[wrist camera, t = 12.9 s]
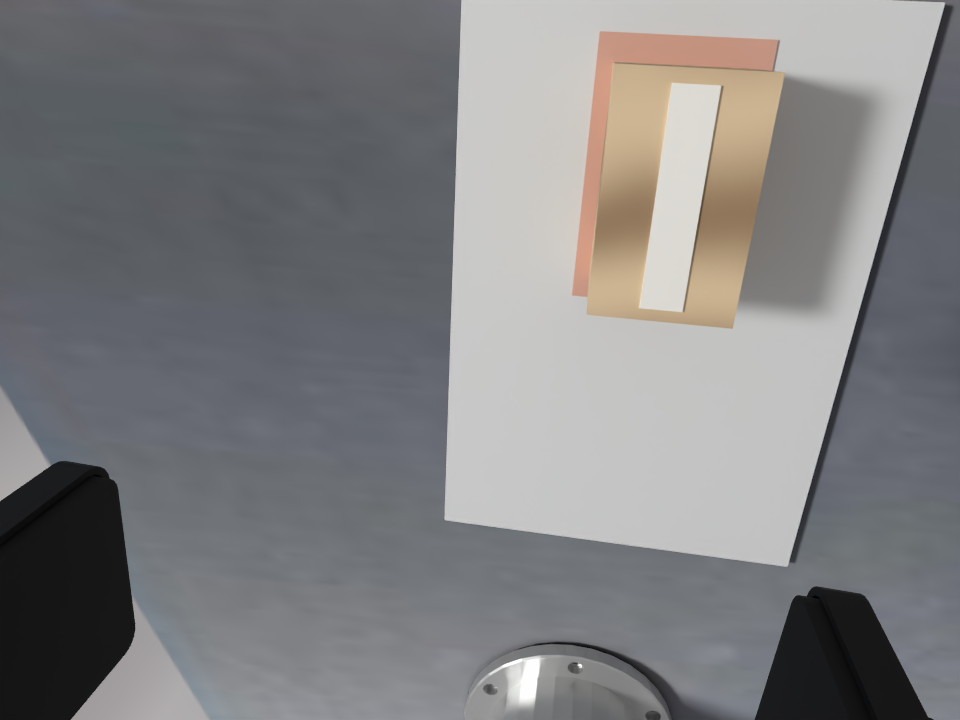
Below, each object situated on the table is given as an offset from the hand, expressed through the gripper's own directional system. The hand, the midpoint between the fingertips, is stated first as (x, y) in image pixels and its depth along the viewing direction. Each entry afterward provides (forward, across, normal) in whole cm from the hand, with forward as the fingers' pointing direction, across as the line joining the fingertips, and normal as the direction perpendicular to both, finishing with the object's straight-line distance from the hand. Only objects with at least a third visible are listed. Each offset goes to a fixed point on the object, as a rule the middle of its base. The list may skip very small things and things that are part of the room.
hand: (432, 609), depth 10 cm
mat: (+25, -5, +3) cm, 25 cm away
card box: (+24, -4, -3) cm, 24 cm away
